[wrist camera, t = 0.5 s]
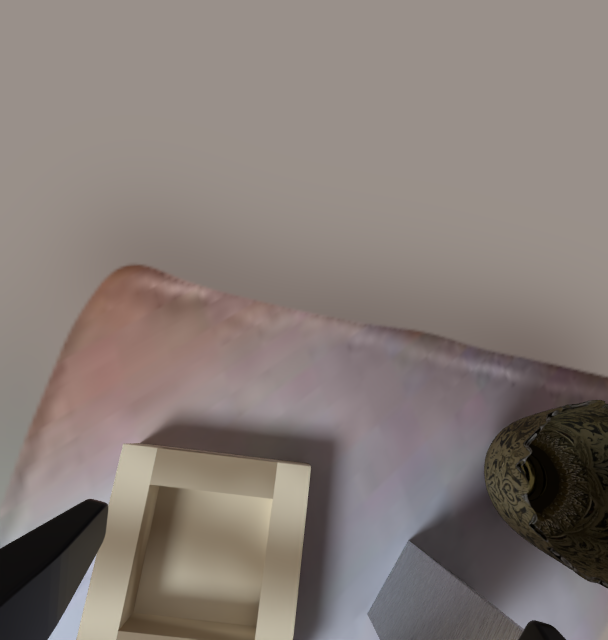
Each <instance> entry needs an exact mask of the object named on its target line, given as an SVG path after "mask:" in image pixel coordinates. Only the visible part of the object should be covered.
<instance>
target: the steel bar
mask: <svg viewBox="0 0 608 640" xmlns="http://www.w3.org/2000/svg"><path fill="white" fill-rule="evenodd" d="M367 615H368V617H369V619H370V621H371V623H372V625H373V627H374V629H375V631H376V633H377V635H378V637H379V639H380V640H518V639H519V637H520V636H521V634H522V632H523V631H524V629H523V628H522V627H521V626H519V625H518V624H517V623H515V622H514V621H513V620H512V619H510V618H509V617H508V616H507V615H505V614H504V613H503V612H501V611H500V610H499V609H498V608H496V607H495V606H494V605H493V604H491V603H490V602H489V601H487V600H486V599H485V598H484V597H482V596H481V595H480V594H478V593H477V592H476V591H475V590H473V589H472V588H471V587H469V586H468V585H467V584H465V583H464V582H463V581H461V580H460V579H459V578H458V577H456V576H455V575H454V574H452V573H451V572H450V571H448V570H447V569H446V568H444V567H443V566H442V565H440V564H439V563H438V562H436V561H435V560H434V559H432V558H431V557H430V556H428V555H427V554H426V553H425V552H423V551H422V550H421V549H419V548H418V547H417V546H415V545H414V544H413V543H411V542H410V541H409V540H408V542H407V544H406V546H405V548H404V549H403V551H402V553H401V555H400V557H399V558H398V560H397V562H396V564H395V566H394V567H393V569H392V571H391V573H390V575H389V576H388V578H387V580H386V582H385V584H384V585H383V587H382V589H381V591H380V593H379V594H378V596H377V598H376V600H375V602H374V603H373V605H372V607H371V609H370V611H369V612H368V614H367Z"/></svg>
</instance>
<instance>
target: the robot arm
mask: <svg viewBox="0 0 608 640" xmlns="http://www.w3.org/2000/svg"><path fill="white" fill-rule="evenodd" d="M107 518H108V504H107V503H105V502H101V501H98V500H94V499H88V500H85V501H83V502H81V503H80V504H78V505H76V506H74V507H73V508H71V509H69V510H67V511H66V512H64V513H62V514H60V515H59V516H57V517H55V518H53V519H52V520H50V521H48V522H46V523H44V524H43V525H41V526H39V527H37V528H36V529H34V530H32V531H30V532H29V533H27V534H25V535H23V536H22V537H20V538H18V539H16V540H15V541H13V542H11V543H9V544H8V545H6V546H4V547H2V548H1V549H0V640H48V638H49V636H50V635H51V633H52V632H53V630H54V629H55V627H56V626H57V624H58V622H59V620H60V619H61V617H62V615H63V613H64V612H65V610H66V608H67V606H68V604H69V603H70V601H71V599H72V597H73V595H74V594H75V592H76V590H77V588H78V586H79V585H80V583H81V581H82V579H83V577H84V576H85V574H86V572H87V570H88V568H89V567H90V565H91V563H92V561H93V559H94V557H95V556H96V554H97V552H98V550H99V548H100V547H101V545H102V543H103V540H104V538H105V534H106V527H107ZM518 640H566V639H565V638H564V637H563V636H562V635H561V634H560V633H559V631H558V630H557V629H556V628H554V627H553V626H551V625H549V624H546V623H542V622H539V621H535V620H532V621H530V622H529V623H528V624H527V626H526V627H525V629H524V631H523V632H522V634H521V636H520V637H519V639H518Z"/></svg>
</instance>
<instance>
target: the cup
mask: <svg viewBox="0 0 608 640" xmlns="http://www.w3.org/2000/svg"><path fill="white" fill-rule="evenodd" d="M484 476H485V483H486V487H487V491H488V494H489V496H490V499H491V501H492V503H493V505H494V507H495V508H496V510H497V511H498V513H499V514H500V516H501V517H502V518H503V519H504V520H505V521H506V523H507V524H508V525H509V526H510V527H511V528H512V529H513V530H514V531H516V532H517V533H518V534H519V535H520V536H522V537H523V538H524V539H526V540H527V541H528V542H530V543H531V544H533V545H534V546H535V547H537V548H538V549H540V550H541V551H543V552H544V553H546V554H548V555H549V556H551V557H552V558H554V559H555V560H557V561H559V562H560V563H562V564H563V565H565V566H567V567H568V568H570V569H571V570H573V571H574V572H575V573H577V574H578V575H579V576H581V577H582V578H584V579H586V580H588V581H590V582H594V583H599V584H601V585H602V586H604V587H606V588H608V404H605V401H602V400H592V401H587V402H584V403H579V404H572V405H565V406H563V407H559V408H555V409H551V410H548V411H544V412H541V413H537V414H534V415H531V416H528V417H525V418H522V419H520V420H518V421H516V422H514V423H512V424H510V425H509V426H507V427H506V428H504V429H503V430H502V431H501V432H500V433H499V434H498V435H497V436H496V437H495V439H494V440H493V442H492V443H491V445H490V447H489V449H488V452H487V455H486V459H485V465H484Z"/></svg>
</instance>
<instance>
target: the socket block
mask: <svg viewBox="0 0 608 640" xmlns="http://www.w3.org/2000/svg"><path fill="white" fill-rule="evenodd" d="M310 472H311V466H310V465H309V464H308V463H300V462H292V461H283V460H275V459H267V458H259V457H250V456H242V455H234V454H225V453H217V452H209V451H200V450H192V449H184V448H176V447H167V446H159V445H151V444H142V443H133V444H123V447H122V452H121V456H120V460H119V464H118V468H117V472H116V477H115V481H114V485H113V489H112V493H111V497H110V502H109V506H108V518H107V527H106V534H105V538H104V540H103V543H102V545H101V547H100V548H99V550H98V552H97V556H96V560H95V564H94V568H93V572H92V577H91V581H90V585H89V589H88V593H87V597H86V602H85V606H84V610H83V614H82V618H81V622H80V627H79V631H78V635H77V639H76V640H293V635H294V625H295V616H296V606H297V597H298V587H299V577H300V568H301V558H302V549H303V539H304V530H305V520H306V510H307V501H308V491H309V482H310Z"/></svg>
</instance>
